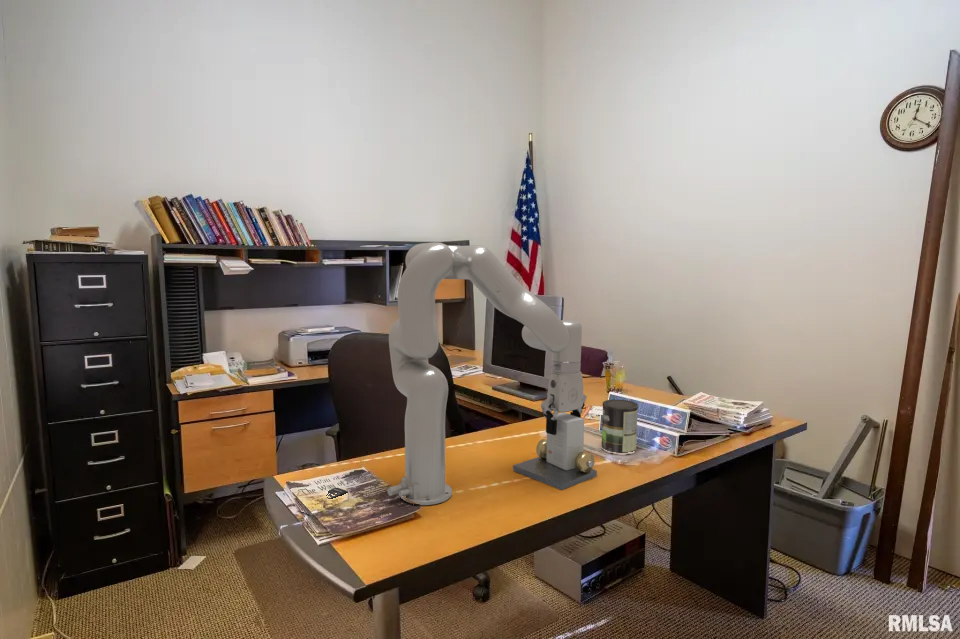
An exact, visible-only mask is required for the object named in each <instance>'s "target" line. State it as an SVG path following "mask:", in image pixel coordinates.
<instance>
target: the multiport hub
mask: <svg viewBox="0 0 960 639" xmlns="http://www.w3.org/2000/svg"><path fill="white" fill-rule="evenodd" d="M327 491H328V490H327ZM329 493H330V494H329ZM335 493H337V494H335ZM346 493H348V494H349V490H345V489H343V488H341V487H340V488H339V487H337V488H336V487H333V488H332V489H331V488H330V489H329V491H328V494H329V495H328V494H327V495H328V496H330V497H331V498H328V497H327V498H328V499H333V498H336V497H338V496H342V495H344V494H346ZM331 494H333V495H335V496H332V495H331ZM327 495H326V496H327Z"/></svg>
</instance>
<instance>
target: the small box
mask: <svg viewBox="0 0 960 639" xmlns="http://www.w3.org/2000/svg"><path fill="white" fill-rule="evenodd" d="M555 420H557V433H556V435H552V434H549V433H546V440H547V462H548V463H550V464H553V465H555V466H557V467H559V468H562V469H564V470H570V469H574V468H575V458H576V456H577V454H578V453H579V452H581V451H585V450H584V446H585V444H584V443H585V442H584V441H585V439H584V438H585V437H584V436H585V419H584V418H582V417H581V418H579V417H576V416H573V415H570V413H567V412H564V413H561V412H559V413H558V415H557V417H556V419H555Z"/></svg>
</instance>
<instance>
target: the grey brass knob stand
mask: <svg viewBox="0 0 960 639" xmlns="http://www.w3.org/2000/svg"><path fill="white" fill-rule="evenodd" d="M535 450H536V455H537V456H536V457H534V458H531V459H528V460H525V461H522V462H519V463H516V464H513V465H512V471H513V472H515V473H518V474H520V475H523V476H525V477H528V478H530V479H533V480H536V481H537V482H541V483H543V484H545V485H548V486H551V487H553V488H555V489H557V490H560V491H563V490H566V489H568V488H570V487H572V486H573V487H574V486H575V485H578V484H580V483H583V482H585V481H588V480H590V479H593V478H595V477H598V470H596V469H593V468H594V467H595V466H594V465H595V456H594V455H593V454H592V453H590V452H586V451H585V450H583V451H581V452H579V453H578V454H577V456H576V458H575V468H574V469H570V470H564V469H562V468H559V467H557V466H555V465H553V464H550V463H548V462H547V438H543V439H540V440H539V441H538V443H537V445H536V448H535Z"/></svg>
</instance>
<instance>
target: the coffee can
mask: <svg viewBox="0 0 960 639" xmlns="http://www.w3.org/2000/svg"><path fill="white" fill-rule="evenodd" d="M638 409H639V404H638V403H637V402H635V401H632V400H627V399H615V398H614V399H606V400H604V401H602V422H601V423H602V425H601V447H602V448H603V449H605V450H607V451H610V452H616V453H628V452H633V451H635V450H636V451H637V437H638V435H637V434H638V413H639V412H638V411H639V410H638Z"/></svg>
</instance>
